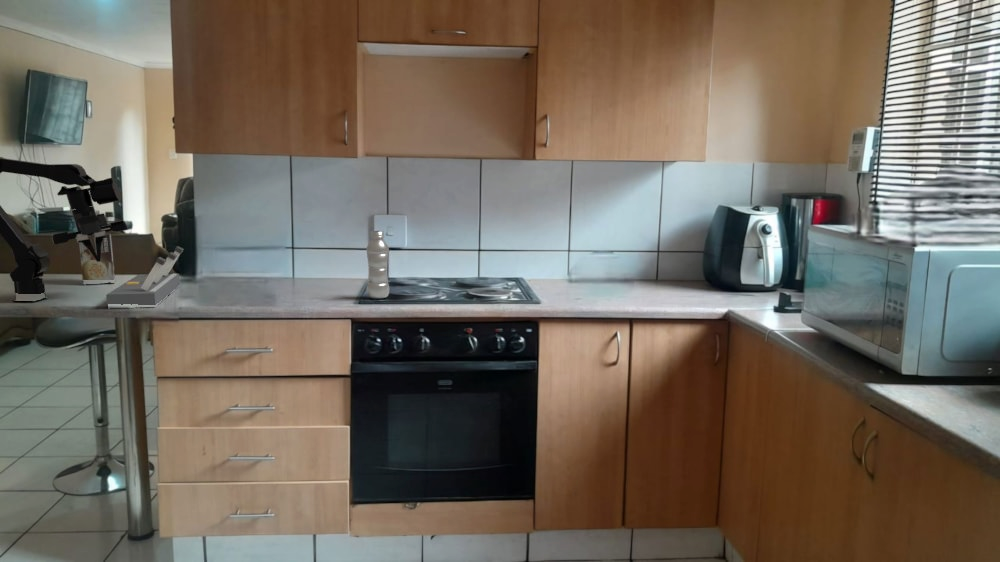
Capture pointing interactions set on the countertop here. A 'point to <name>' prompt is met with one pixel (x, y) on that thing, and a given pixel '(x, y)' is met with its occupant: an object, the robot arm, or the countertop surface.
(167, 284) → the breaker panel
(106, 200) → the robot arm
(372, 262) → the plastic bottle
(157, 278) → the lever
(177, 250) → the lever
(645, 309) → the countertop surface
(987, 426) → the countertop surface
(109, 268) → the coffee box
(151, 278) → the lever
